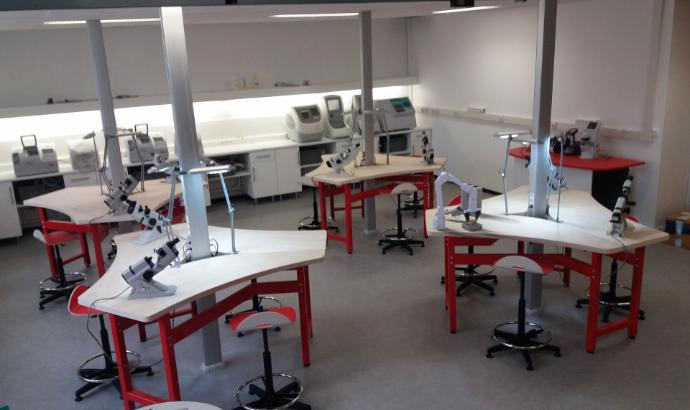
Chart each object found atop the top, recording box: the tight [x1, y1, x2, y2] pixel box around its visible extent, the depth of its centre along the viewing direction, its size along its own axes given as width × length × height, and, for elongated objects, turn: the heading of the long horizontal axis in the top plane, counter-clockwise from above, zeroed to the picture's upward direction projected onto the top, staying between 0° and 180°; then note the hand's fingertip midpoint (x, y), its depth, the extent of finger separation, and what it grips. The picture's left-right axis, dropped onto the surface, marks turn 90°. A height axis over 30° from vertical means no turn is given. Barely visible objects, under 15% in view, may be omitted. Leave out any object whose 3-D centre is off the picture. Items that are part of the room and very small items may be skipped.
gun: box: [434, 204, 471, 223], centre depth 467 cm, size 5×27×15 cm, turn 63°
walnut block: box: [466, 218, 478, 226], centre depth 442 cm, size 5×5×6 cm
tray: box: [461, 222, 483, 232], centre depth 442 cm, size 12×10×4 cm
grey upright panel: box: [460, 184, 483, 215], centre depth 482 cm, size 17×5×25 cm, turn 91°
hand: (472, 220), depth 441 cm, fingers open, 7 cm apart
